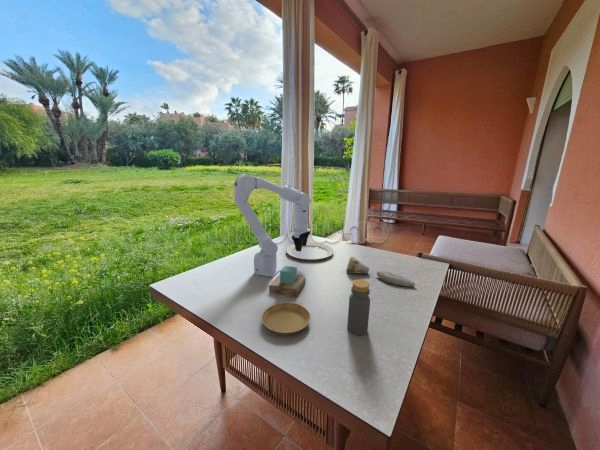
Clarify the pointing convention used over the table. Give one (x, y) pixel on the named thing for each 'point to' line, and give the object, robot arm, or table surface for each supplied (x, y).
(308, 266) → the table surface
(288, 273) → the teal cube
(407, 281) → the decorative stone
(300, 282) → the walnut plinth
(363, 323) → the bottle
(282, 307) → the plant saucer
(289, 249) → the plate
